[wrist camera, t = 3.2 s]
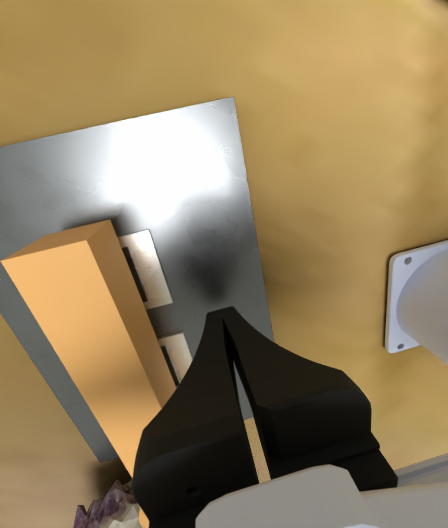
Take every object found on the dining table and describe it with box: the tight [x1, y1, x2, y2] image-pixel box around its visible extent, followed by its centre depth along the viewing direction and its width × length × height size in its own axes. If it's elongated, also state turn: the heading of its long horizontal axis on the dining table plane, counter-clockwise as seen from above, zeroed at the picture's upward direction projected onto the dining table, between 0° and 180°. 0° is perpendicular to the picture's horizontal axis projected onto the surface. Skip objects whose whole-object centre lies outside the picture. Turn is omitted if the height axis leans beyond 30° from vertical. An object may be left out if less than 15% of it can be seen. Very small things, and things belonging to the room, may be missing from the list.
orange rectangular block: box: [1, 220, 177, 528], centre depth 12 cm, size 16×4×4 cm, turn 12°
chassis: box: [0, 97, 274, 463], centre depth 14 cm, size 13×19×2 cm
